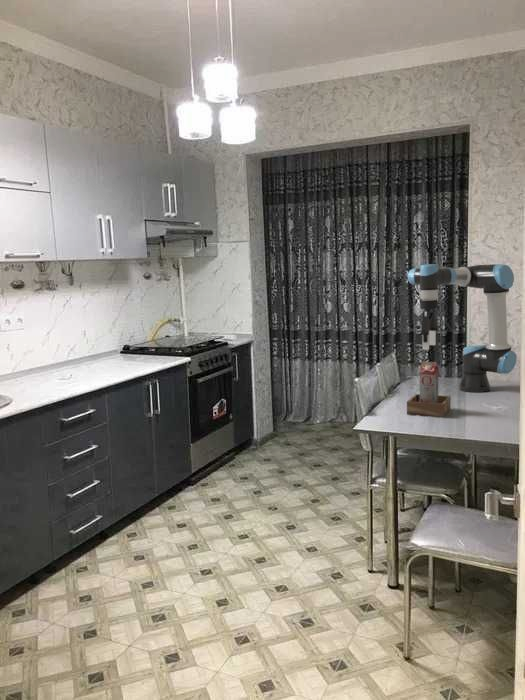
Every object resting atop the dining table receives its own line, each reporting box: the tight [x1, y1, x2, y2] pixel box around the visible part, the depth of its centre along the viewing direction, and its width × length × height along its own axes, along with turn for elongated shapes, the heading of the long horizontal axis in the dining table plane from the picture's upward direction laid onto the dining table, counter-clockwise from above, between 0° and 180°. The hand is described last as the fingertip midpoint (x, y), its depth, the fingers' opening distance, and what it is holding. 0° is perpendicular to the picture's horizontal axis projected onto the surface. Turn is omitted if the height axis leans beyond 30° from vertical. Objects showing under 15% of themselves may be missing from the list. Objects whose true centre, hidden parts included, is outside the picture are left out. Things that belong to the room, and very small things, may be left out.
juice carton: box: [419, 361, 439, 403], centre depth 265 cm, size 7×7×22 cm
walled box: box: [406, 393, 452, 418], centre depth 266 cm, size 16×16×6 cm
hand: (429, 347), depth 262 cm, fingers open, 13 cm apart
